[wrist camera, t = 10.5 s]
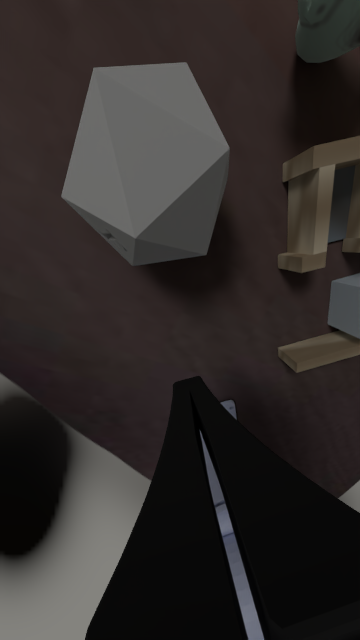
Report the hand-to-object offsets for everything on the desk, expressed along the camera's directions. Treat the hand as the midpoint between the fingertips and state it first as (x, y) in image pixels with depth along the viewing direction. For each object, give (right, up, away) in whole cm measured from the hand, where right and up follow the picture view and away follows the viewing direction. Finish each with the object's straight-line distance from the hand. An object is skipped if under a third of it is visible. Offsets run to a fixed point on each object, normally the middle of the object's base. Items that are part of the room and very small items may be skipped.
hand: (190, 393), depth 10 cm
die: (-3, +13, +5) cm, 14 cm away
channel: (+13, +9, +9) cm, 18 cm away
